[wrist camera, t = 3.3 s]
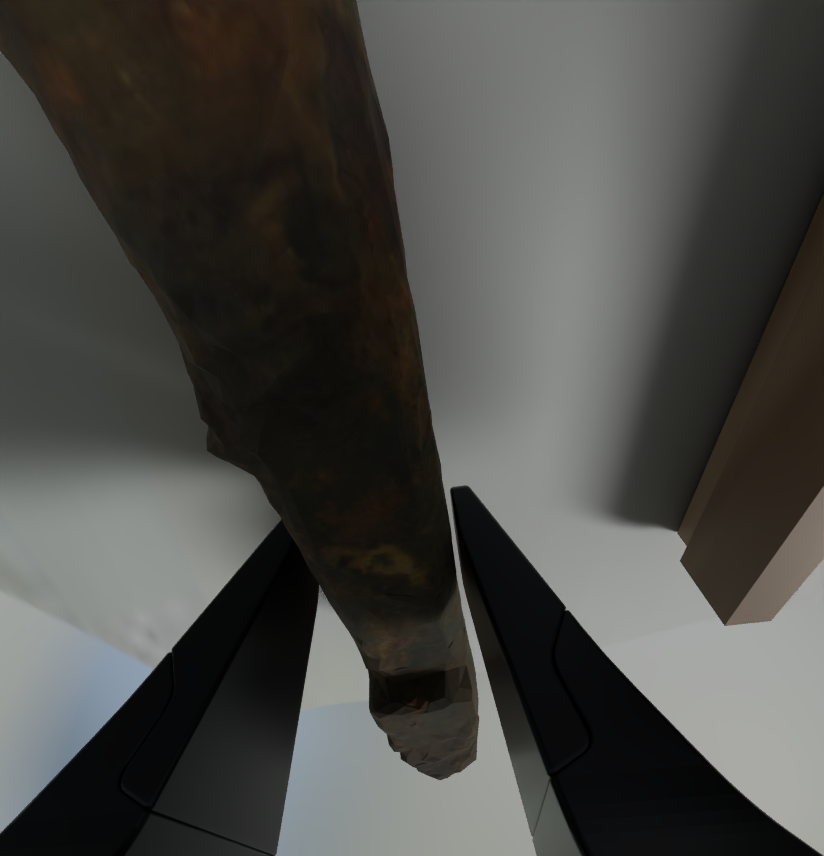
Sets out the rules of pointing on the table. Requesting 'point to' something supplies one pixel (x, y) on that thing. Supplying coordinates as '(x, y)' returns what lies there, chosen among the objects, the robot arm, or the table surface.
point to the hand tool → (280, 298)
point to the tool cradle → (768, 462)
